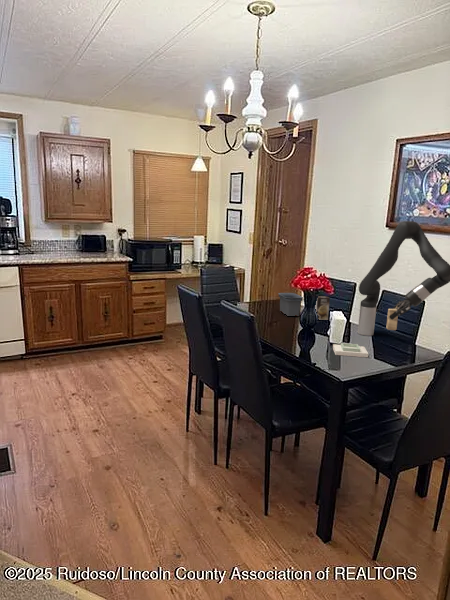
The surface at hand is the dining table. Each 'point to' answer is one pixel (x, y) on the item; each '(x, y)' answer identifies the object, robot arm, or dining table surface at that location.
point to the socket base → (350, 350)
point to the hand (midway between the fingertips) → (389, 317)
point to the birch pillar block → (391, 323)
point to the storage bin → (290, 303)
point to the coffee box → (322, 307)
